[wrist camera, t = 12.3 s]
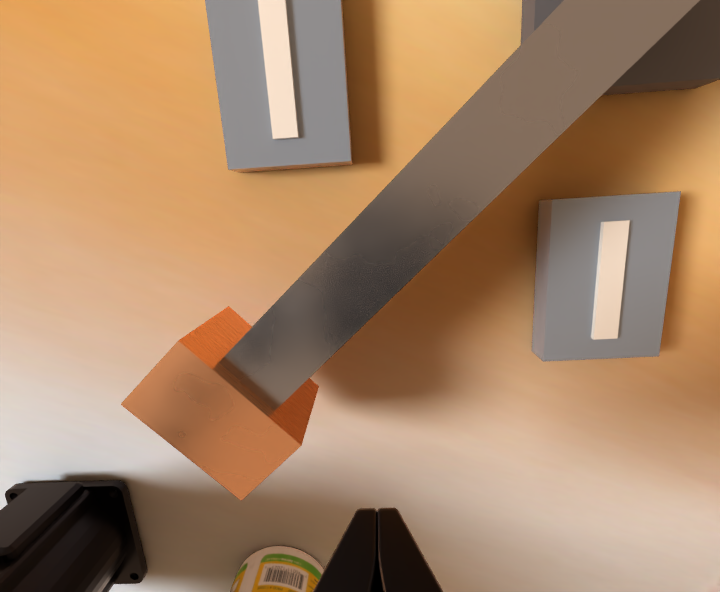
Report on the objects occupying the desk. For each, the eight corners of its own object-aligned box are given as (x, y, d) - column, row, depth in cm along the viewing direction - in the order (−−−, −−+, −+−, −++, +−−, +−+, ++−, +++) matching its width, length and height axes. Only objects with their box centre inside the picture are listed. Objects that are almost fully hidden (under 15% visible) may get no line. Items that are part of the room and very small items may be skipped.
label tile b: (639, 346, 17) (662, 358, 16) (531, 351, 18) (545, 363, 16) (658, 192, 16) (685, 191, 14) (538, 200, 16) (554, 199, 15)
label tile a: (352, 164, 16) (350, 160, 15) (238, 172, 16) (226, 168, 15) (340, -26, 14) (337, -50, 13) (214, -14, 14) (197, -37, 13)
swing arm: (642, -139, 12) (826, -375, 7) (730, -16, 13) (952, -155, 8) (194, 346, 16) (120, 404, 12) (278, 417, 17) (241, 500, 12)
